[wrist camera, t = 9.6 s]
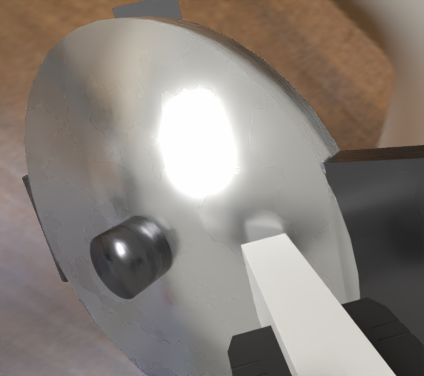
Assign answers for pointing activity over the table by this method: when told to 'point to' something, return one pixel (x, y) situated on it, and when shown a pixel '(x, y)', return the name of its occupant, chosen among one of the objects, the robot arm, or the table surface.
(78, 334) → the table surface
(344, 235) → the cooker lid
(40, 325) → the table surface
